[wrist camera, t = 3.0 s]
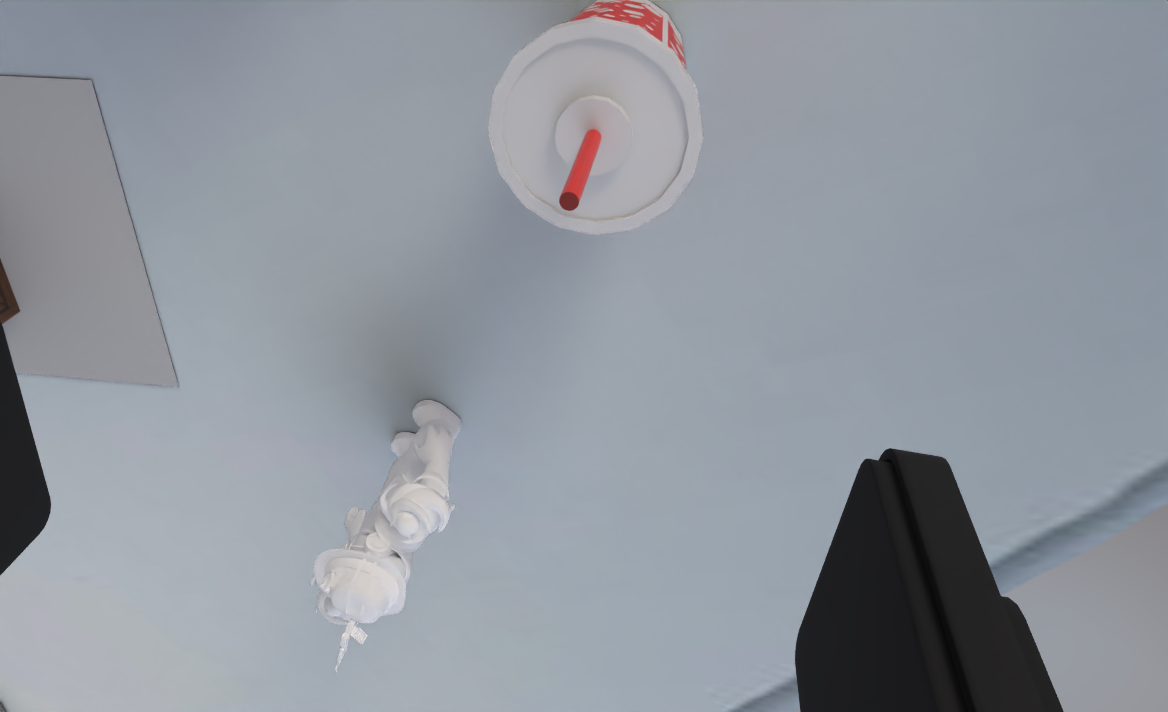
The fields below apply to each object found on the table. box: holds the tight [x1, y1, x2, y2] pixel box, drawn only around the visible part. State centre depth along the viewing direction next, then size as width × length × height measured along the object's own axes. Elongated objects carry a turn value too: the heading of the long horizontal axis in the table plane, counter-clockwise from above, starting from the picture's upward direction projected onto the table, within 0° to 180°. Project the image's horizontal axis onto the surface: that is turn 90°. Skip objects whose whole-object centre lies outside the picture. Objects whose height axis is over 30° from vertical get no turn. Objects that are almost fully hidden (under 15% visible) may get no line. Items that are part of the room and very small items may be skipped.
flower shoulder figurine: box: [310, 400, 462, 674], centre depth 37 cm, size 9×4×12 cm, turn 144°
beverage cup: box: [488, 0, 704, 235], centre depth 26 cm, size 6×6×14 cm
